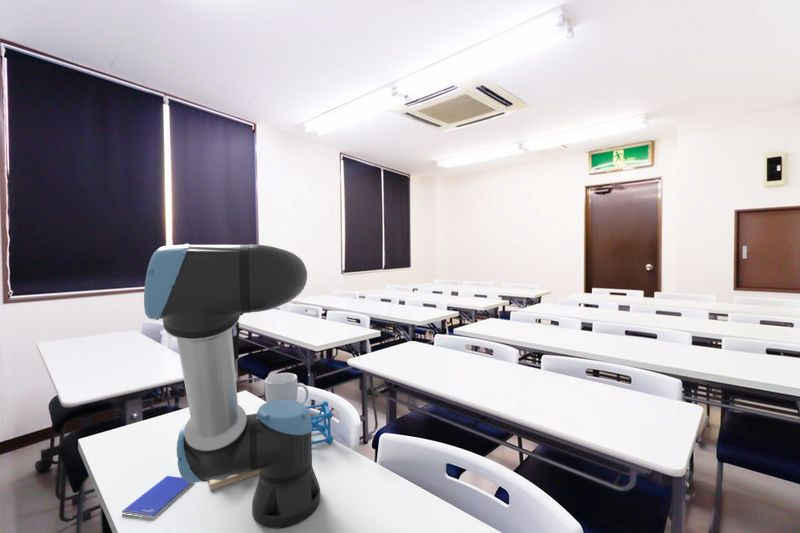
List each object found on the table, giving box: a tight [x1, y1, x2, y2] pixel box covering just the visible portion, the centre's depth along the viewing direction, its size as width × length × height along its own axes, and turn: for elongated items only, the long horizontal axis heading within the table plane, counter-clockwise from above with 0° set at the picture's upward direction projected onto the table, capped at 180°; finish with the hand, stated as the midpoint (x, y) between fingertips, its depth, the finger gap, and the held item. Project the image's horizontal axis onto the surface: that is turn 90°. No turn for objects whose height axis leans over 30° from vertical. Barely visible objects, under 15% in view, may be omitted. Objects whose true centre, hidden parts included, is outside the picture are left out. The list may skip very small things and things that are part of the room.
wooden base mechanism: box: [207, 469, 260, 491], centre depth 101 cm, size 23×12×6 cm, turn 35°
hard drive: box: [121, 475, 194, 520], centre depth 86 cm, size 2×8×12 cm
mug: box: [264, 372, 310, 405], centre depth 129 cm, size 15×11×13 cm
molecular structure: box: [306, 400, 334, 445], centre depth 111 cm, size 10×10×10 cm
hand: (232, 381), depth 106 cm, fingers closed
